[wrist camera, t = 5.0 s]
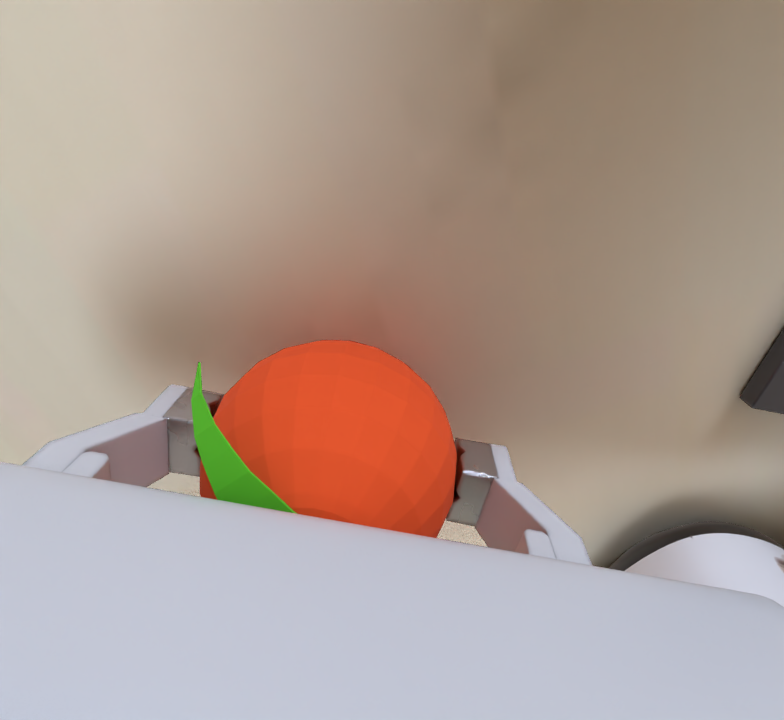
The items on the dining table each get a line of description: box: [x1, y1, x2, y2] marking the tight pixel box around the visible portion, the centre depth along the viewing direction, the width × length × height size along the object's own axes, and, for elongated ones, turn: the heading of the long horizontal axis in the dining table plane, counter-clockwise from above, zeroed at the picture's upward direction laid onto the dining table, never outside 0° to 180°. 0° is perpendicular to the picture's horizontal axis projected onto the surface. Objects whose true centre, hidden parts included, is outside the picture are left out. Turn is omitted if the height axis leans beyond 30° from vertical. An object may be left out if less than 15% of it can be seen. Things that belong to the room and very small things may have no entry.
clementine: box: [191, 340, 457, 538], centre depth 13 cm, size 8×7×7 cm
